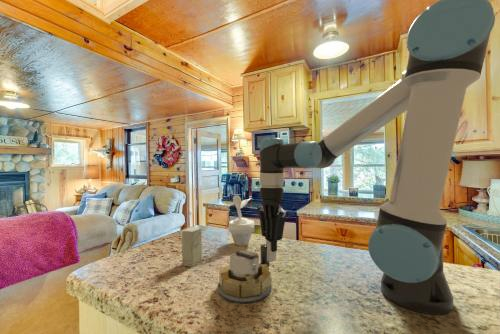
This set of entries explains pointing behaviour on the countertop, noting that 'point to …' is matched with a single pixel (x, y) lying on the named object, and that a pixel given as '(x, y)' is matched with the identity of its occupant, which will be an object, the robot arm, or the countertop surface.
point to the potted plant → (241, 224)
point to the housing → (239, 268)
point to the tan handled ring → (247, 280)
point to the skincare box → (191, 246)
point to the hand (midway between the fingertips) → (271, 260)
